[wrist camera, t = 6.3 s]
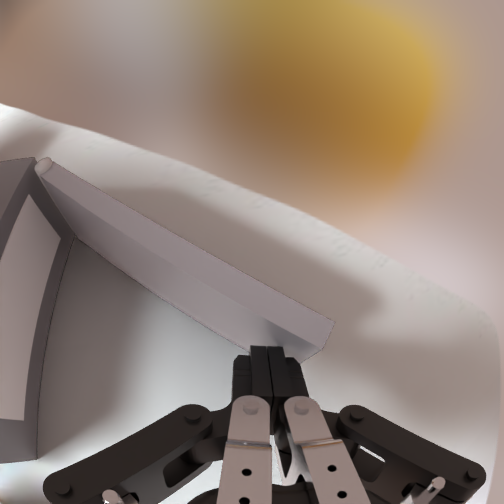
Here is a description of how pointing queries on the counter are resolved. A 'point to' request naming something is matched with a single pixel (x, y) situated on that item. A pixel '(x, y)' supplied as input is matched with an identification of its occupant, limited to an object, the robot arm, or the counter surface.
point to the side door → (184, 271)
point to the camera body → (26, 299)
